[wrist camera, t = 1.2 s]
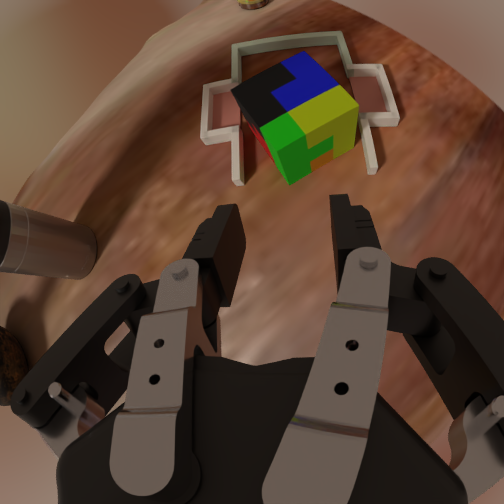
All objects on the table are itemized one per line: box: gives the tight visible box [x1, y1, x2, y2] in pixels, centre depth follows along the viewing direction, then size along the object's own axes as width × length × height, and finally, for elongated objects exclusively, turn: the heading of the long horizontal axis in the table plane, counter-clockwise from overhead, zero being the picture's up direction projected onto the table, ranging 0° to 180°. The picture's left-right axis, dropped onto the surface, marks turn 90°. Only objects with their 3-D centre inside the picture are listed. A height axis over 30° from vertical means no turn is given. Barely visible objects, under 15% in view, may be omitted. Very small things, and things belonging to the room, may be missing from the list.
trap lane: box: [200, 31, 400, 186], centre depth 37 cm, size 25×27×2 cm
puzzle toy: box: [230, 51, 359, 185], centre depth 33 cm, size 10×10×10 cm
